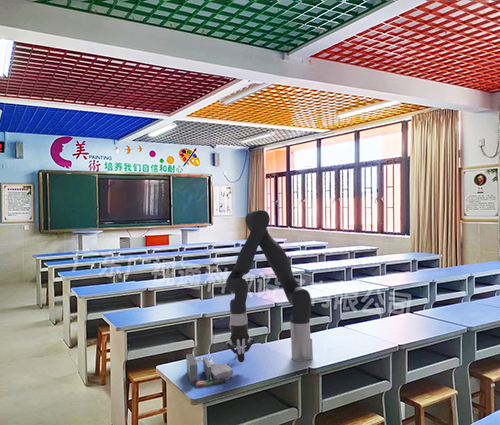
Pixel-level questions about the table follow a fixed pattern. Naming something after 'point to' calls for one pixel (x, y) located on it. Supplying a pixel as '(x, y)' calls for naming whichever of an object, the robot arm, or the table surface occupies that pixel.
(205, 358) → the thin grey slab
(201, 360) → the scissors
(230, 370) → the stone block
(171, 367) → the table surface
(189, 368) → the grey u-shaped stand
